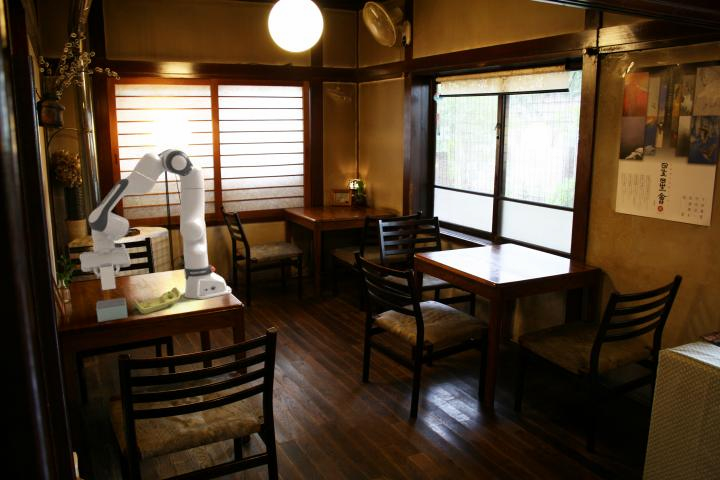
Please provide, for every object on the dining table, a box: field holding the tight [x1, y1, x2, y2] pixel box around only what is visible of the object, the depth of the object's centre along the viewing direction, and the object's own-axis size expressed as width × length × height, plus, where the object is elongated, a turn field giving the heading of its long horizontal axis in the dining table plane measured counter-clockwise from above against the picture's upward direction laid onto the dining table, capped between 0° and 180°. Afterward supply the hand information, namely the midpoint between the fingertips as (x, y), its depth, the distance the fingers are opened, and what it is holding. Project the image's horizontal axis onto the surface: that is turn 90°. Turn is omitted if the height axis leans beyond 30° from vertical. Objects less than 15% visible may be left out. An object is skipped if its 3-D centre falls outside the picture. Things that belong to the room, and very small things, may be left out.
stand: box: [96, 297, 129, 323], centre depth 265 cm, size 12×12×6 cm
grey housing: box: [99, 263, 117, 291], centre depth 262 cm, size 6×6×11 cm
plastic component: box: [133, 286, 181, 315], centre depth 275 cm, size 20×7×10 cm
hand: (107, 276), depth 261 cm, fingers closed on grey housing, 5 cm apart
